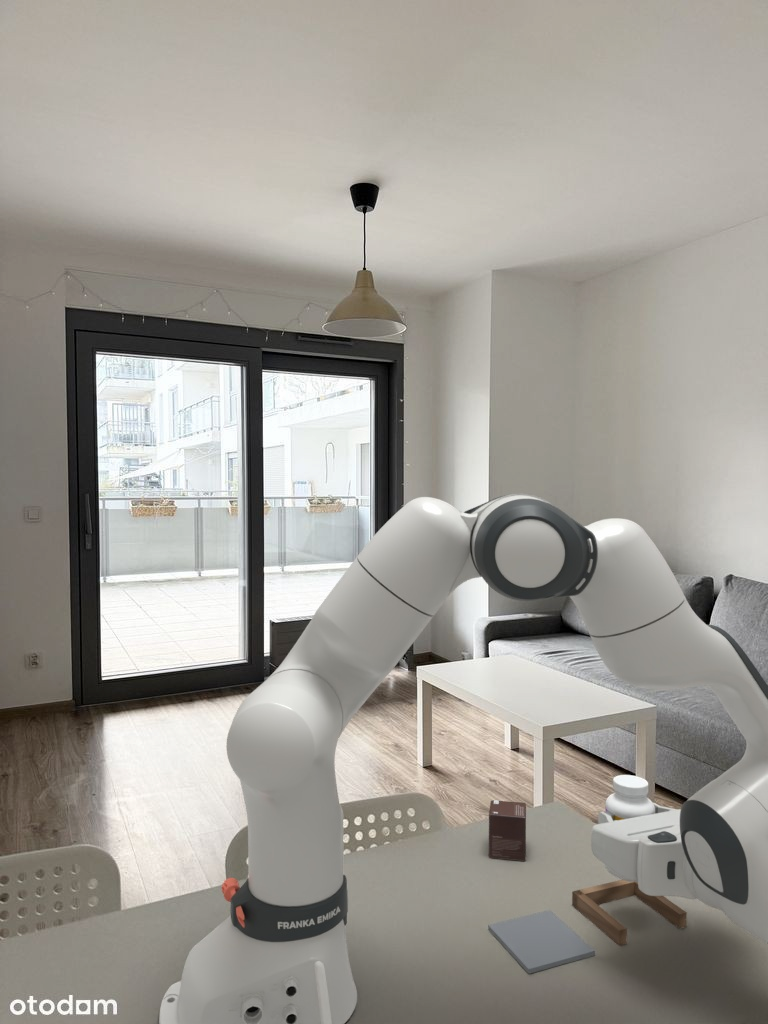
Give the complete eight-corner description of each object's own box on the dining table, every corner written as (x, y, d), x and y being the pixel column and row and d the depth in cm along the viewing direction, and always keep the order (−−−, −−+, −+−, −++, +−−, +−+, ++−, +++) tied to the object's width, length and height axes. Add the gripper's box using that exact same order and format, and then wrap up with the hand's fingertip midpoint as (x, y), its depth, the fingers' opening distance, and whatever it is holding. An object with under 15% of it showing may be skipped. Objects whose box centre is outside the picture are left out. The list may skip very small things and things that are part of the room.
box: (525, 862, 118) (526, 817, 118) (488, 858, 119) (488, 814, 119) (526, 845, 124) (526, 802, 124) (490, 841, 125) (490, 799, 125)
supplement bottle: (595, 861, 105) (597, 773, 105) (638, 858, 106) (639, 770, 106) (618, 886, 98) (620, 791, 98) (663, 882, 99) (665, 788, 99)
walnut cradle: (619, 945, 96) (619, 930, 96) (572, 905, 105) (572, 891, 105) (686, 926, 100) (686, 912, 100) (635, 889, 110) (635, 876, 110)
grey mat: (528, 973, 90) (528, 969, 90) (488, 929, 99) (488, 924, 99) (595, 955, 94) (595, 950, 94) (549, 913, 103) (550, 909, 103)
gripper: (763, 819, 94) (683, 780, 107) (636, 845, 86) (566, 800, 99) (762, 868, 94) (682, 823, 107) (635, 898, 86) (565, 846, 99)
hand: (625, 812), depth 103 cm, fingers closed on supplement bottle, 7 cm apart
